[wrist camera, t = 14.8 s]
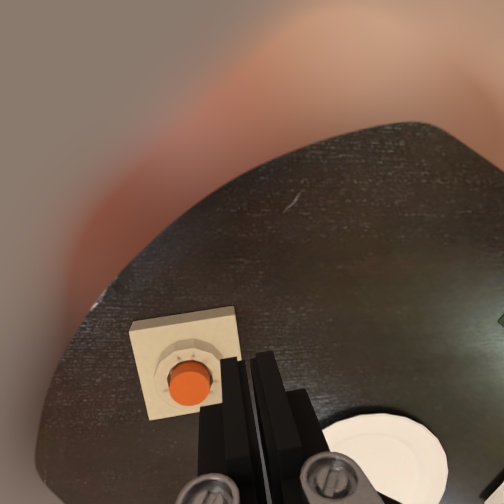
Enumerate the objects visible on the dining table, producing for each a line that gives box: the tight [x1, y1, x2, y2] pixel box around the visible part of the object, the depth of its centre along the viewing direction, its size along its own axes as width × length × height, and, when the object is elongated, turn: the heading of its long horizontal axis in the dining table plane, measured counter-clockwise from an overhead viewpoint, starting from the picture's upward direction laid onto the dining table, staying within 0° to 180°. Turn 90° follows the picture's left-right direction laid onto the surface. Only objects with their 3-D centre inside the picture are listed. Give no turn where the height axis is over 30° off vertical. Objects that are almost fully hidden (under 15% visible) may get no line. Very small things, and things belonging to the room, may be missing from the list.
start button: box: [169, 361, 210, 406], centre depth 35 cm, size 4×4×2 cm
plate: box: [322, 413, 448, 504], centre depth 45 cm, size 21×21×2 cm
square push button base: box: [129, 306, 242, 420], centre depth 37 cm, size 10×10×4 cm
